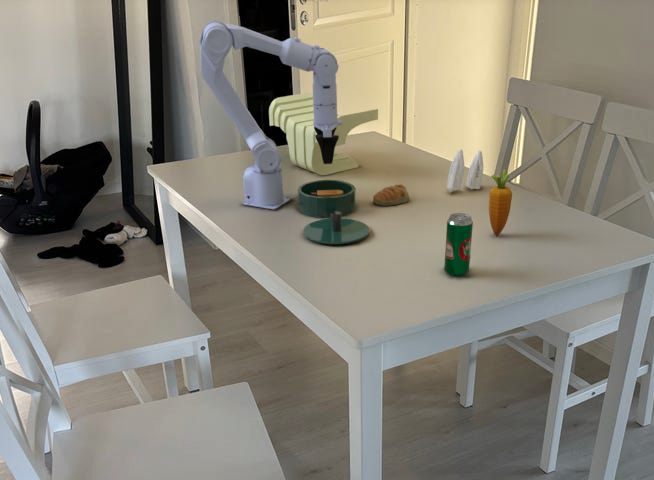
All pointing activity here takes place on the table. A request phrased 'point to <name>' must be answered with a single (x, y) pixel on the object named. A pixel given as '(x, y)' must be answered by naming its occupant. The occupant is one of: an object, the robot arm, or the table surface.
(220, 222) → the table surface
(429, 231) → the table surface
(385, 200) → the pastry
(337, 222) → the pot lid
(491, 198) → the carrot
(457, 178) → the shaker set
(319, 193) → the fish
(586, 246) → the table surface
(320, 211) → the pot
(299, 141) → the slatted curved stool
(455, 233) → the soda can
